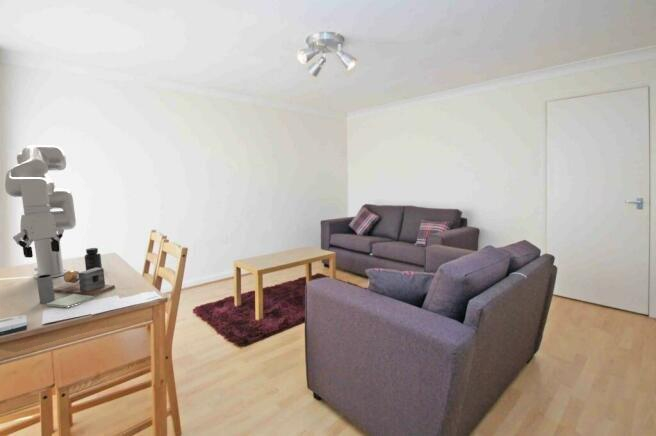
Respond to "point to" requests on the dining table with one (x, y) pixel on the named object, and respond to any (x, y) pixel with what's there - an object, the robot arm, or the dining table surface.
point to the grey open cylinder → (45, 288)
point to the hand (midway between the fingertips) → (42, 254)
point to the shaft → (71, 276)
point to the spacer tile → (70, 300)
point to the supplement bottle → (92, 259)
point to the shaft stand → (87, 284)
